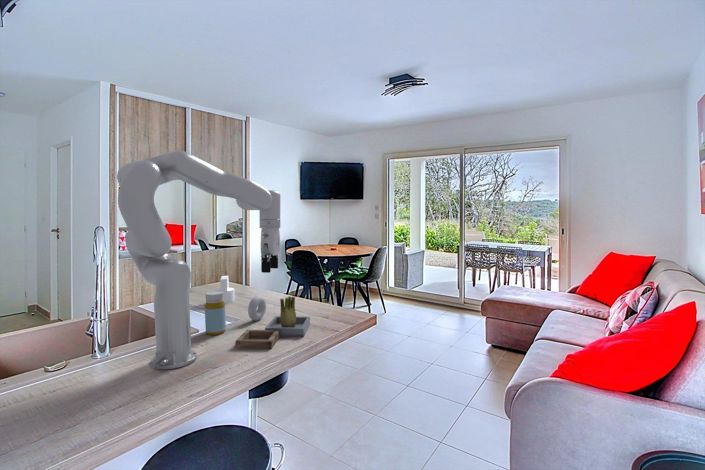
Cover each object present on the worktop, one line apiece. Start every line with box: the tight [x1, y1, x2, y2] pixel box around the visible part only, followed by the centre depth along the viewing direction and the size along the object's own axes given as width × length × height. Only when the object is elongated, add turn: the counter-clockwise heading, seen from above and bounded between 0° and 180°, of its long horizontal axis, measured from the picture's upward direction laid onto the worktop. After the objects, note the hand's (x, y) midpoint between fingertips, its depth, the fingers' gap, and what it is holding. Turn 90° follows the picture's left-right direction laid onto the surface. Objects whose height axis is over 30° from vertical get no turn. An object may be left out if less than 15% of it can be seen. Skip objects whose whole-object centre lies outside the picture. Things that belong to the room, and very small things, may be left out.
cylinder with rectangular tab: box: [214, 275, 236, 304], centre depth 179 cm, size 9×9×12 cm
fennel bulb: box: [279, 296, 297, 328], centre depth 138 cm, size 6×5×12 cm
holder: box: [235, 329, 281, 350], centre depth 126 cm, size 11×12×2 cm
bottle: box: [204, 290, 227, 336], centre depth 135 cm, size 7×7×15 cm
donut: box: [247, 295, 267, 321], centre depth 150 cm, size 10×4×10 cm, turn 159°
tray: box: [264, 315, 311, 338], centre depth 138 cm, size 14×14×3 cm
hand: (270, 270), depth 135 cm, fingers open, 9 cm apart
